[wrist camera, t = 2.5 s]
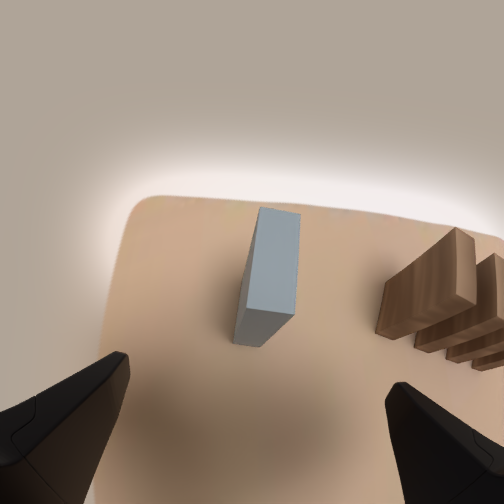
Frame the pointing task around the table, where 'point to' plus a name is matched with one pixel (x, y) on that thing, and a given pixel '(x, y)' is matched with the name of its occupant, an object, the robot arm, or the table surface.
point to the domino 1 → (269, 278)
